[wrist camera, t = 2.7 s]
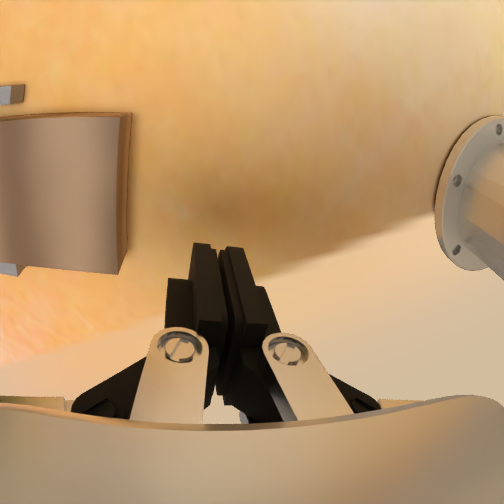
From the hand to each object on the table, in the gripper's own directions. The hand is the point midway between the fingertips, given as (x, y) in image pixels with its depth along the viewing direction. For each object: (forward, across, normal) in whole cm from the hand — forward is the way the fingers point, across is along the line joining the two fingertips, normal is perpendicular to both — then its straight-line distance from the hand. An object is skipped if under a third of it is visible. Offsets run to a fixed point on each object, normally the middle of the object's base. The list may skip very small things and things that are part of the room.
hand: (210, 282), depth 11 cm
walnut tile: (+8, +10, 0) cm, 13 cm away
